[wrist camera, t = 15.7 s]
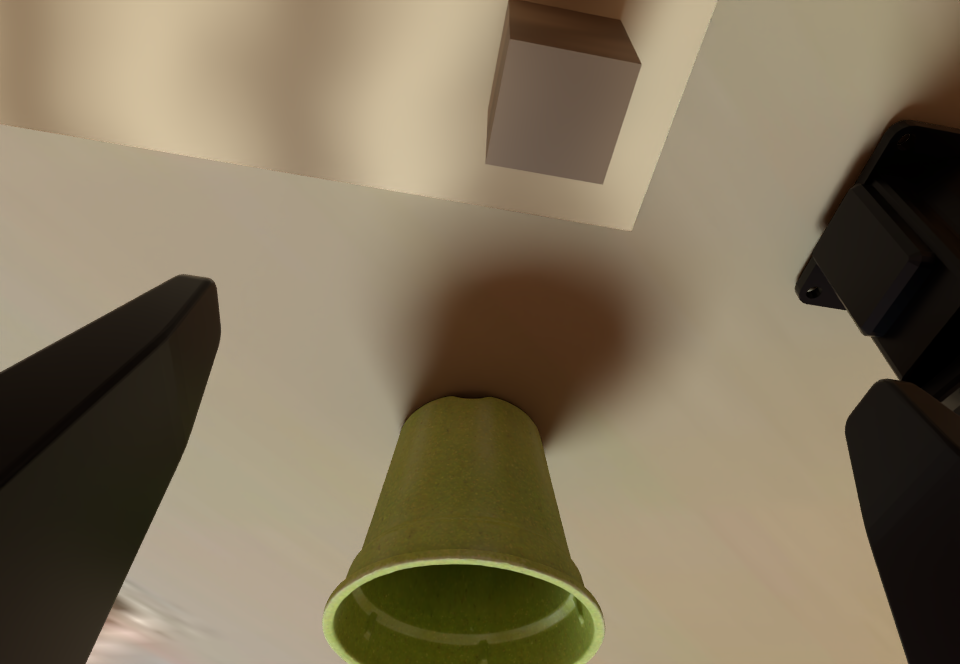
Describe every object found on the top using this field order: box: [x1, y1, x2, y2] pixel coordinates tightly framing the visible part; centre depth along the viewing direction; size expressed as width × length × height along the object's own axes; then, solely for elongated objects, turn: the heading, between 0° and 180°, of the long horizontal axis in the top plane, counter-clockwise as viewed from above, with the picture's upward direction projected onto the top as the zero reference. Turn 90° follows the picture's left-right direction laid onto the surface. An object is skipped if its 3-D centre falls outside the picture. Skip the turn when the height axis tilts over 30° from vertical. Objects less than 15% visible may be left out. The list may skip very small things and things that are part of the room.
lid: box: [0, 0, 718, 231], centre depth 17 cm, size 20×9×4 cm, turn 80°
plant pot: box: [322, 396, 605, 664], centre depth 26 cm, size 9×9×9 cm
